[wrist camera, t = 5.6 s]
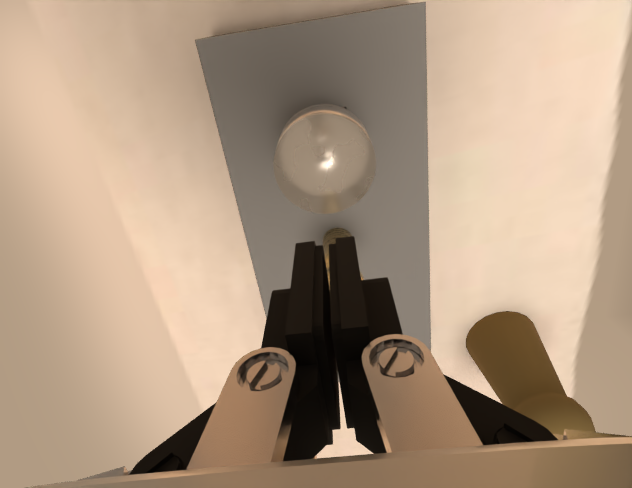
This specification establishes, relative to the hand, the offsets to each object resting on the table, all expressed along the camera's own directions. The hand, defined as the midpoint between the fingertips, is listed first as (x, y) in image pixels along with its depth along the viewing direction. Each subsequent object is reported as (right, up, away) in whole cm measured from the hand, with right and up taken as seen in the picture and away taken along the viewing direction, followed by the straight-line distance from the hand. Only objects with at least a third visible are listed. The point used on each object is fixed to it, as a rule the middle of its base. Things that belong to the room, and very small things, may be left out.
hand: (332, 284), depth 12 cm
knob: (0, +8, +13) cm, 15 cm away
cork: (+16, -7, +25) cm, 31 cm away
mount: (+1, +3, +19) cm, 19 cm away
